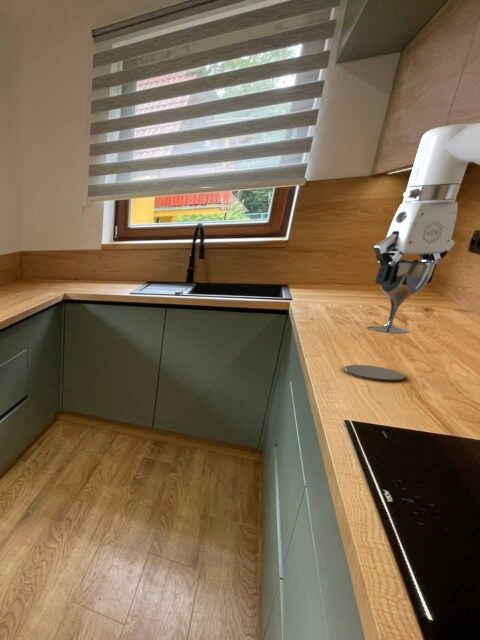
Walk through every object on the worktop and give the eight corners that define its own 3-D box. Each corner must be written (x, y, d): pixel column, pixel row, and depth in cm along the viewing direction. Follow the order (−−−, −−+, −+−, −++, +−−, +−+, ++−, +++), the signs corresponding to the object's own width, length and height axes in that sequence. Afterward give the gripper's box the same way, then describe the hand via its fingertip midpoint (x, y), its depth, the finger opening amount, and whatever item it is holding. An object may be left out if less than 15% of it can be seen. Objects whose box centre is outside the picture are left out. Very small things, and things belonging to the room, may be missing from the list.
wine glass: (356, 325, 101) (374, 260, 95) (396, 326, 99) (417, 259, 94) (379, 334, 93) (400, 263, 88) (422, 334, 92) (446, 262, 86)
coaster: (372, 366, 105) (373, 363, 105) (417, 380, 95) (418, 377, 95) (332, 368, 104) (333, 366, 104) (373, 383, 95) (373, 380, 94)
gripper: (408, 196, 82) (380, 287, 89) (492, 192, 83) (459, 283, 89) (371, 198, 89) (348, 283, 96) (449, 195, 90) (421, 279, 96)
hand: (402, 282), depth 92 cm, fingers closed on wine glass, 8 cm apart
